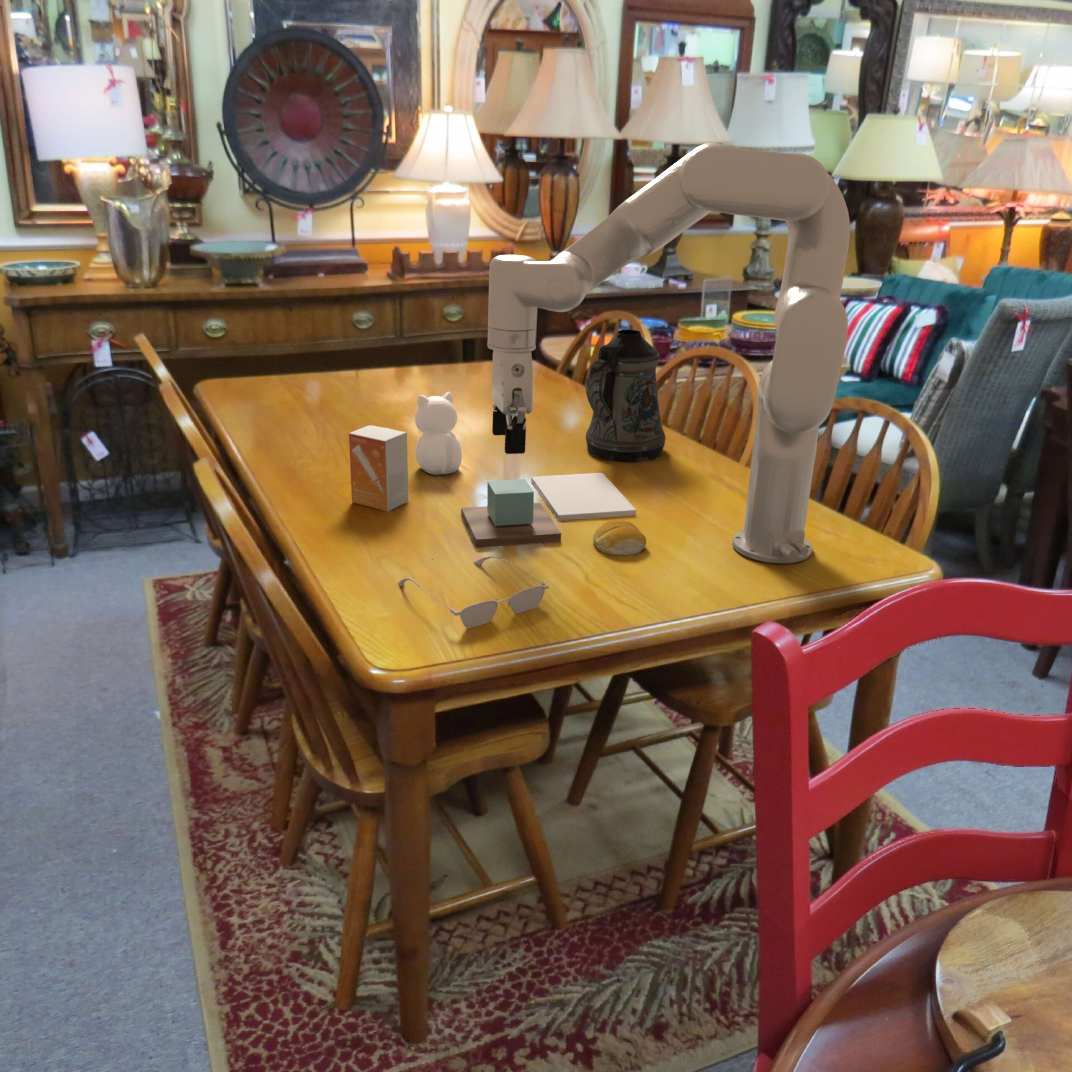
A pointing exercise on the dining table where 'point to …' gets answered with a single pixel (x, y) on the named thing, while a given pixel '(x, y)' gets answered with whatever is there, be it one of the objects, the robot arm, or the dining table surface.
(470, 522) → the post stand
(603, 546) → the bread roll
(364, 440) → the small box
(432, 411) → the cat figurine
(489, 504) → the cube
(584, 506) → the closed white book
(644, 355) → the beer stein
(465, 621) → the eyeglasses
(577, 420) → the dining table surface
